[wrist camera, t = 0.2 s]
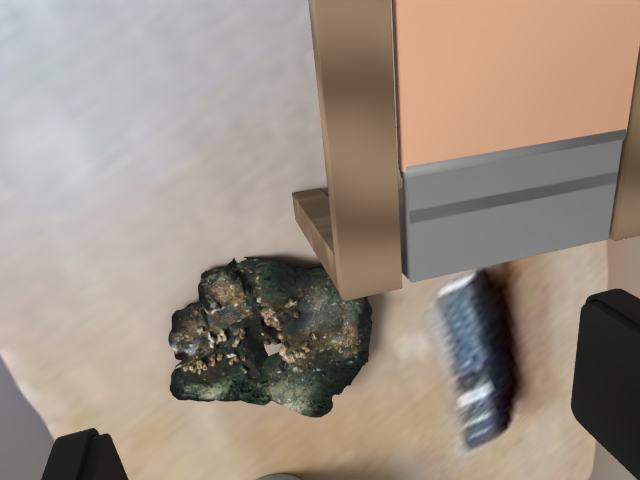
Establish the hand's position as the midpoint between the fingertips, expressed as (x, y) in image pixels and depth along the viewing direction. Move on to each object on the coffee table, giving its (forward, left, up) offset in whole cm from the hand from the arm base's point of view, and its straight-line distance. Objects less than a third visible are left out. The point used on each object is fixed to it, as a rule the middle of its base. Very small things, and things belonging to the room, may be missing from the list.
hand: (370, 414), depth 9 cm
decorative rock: (+17, 0, -32) cm, 36 cm away
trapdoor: (-3, +15, -20) cm, 25 cm away
